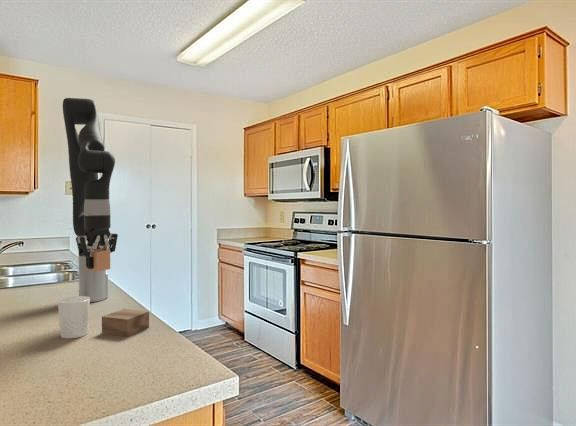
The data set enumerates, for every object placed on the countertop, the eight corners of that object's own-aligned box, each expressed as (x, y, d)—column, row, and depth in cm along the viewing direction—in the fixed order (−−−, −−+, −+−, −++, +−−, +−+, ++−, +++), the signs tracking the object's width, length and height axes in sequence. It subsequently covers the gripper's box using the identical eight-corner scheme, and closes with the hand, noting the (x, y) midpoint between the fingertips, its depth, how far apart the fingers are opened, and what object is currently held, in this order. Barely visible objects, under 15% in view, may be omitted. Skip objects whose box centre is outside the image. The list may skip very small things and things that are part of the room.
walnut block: (124, 325, 120) (124, 308, 120) (149, 328, 117) (149, 311, 117) (101, 334, 112) (101, 316, 112) (127, 337, 109) (127, 319, 109)
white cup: (96, 332, 113) (96, 297, 112) (73, 341, 105) (73, 303, 105) (75, 329, 115) (75, 295, 115) (51, 337, 108) (51, 301, 108)
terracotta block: (99, 267, 129) (99, 249, 129) (110, 269, 127) (110, 250, 126) (85, 270, 124) (85, 251, 124) (96, 271, 122) (96, 252, 122)
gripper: (107, 213, 133) (108, 263, 133) (68, 214, 120) (69, 270, 120) (124, 213, 130) (124, 264, 130) (85, 214, 117) (86, 272, 117)
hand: (98, 267), depth 125 cm, fingers closed on terracotta block, 5 cm apart
